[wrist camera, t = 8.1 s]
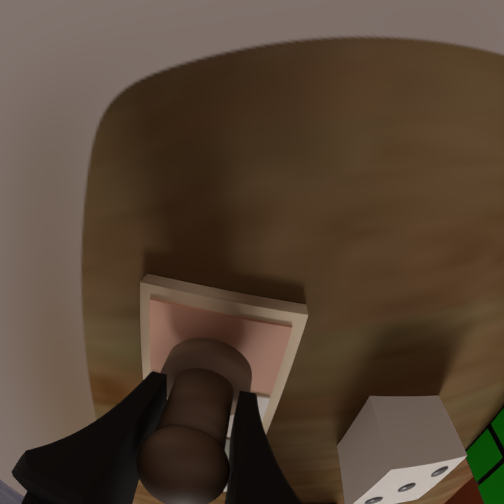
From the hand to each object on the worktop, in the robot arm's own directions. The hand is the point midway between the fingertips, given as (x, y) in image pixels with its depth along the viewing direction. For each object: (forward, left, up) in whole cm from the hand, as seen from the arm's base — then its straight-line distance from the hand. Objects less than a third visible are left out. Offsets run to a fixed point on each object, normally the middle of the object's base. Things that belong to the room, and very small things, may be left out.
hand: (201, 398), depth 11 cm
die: (-13, +6, -5) cm, 15 cm away
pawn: (0, 0, -2) cm, 2 cm away
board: (0, +8, -4) cm, 9 cm away
